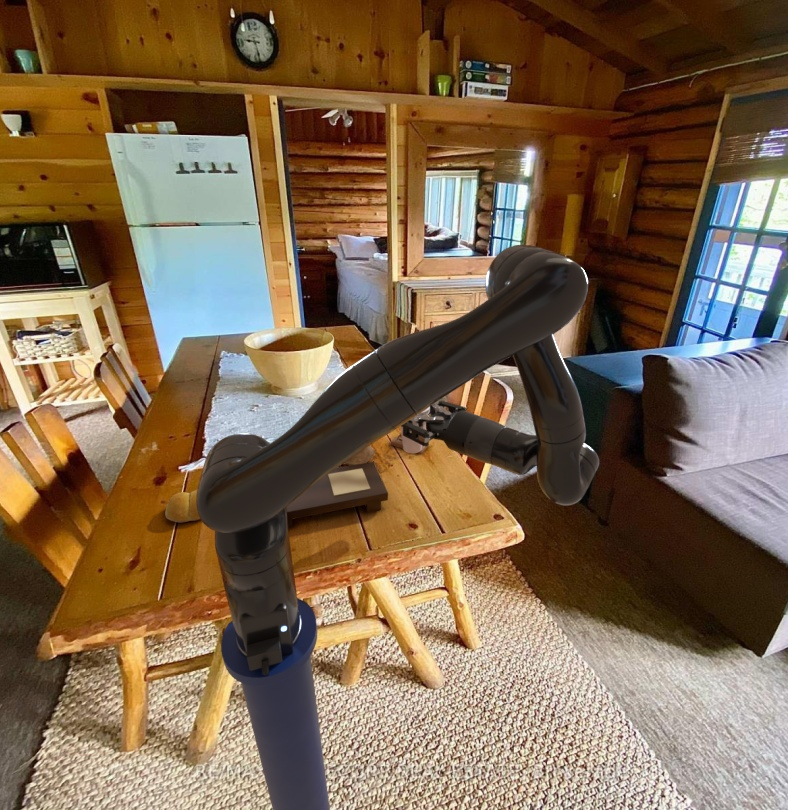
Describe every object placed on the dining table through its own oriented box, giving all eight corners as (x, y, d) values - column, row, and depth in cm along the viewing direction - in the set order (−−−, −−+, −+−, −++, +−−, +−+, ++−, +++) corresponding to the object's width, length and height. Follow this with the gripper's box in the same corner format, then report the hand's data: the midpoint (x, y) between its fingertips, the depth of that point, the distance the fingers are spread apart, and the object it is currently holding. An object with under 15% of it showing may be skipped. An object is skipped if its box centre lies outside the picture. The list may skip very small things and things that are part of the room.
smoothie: (396, 457, 86) (397, 392, 80) (396, 440, 92) (397, 378, 86) (429, 457, 86) (432, 392, 80) (427, 440, 92) (430, 378, 86)
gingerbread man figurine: (390, 444, 115) (390, 403, 110) (397, 438, 118) (398, 398, 113) (420, 454, 112) (422, 412, 106) (427, 446, 115) (429, 406, 109)
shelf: (388, 507, 93) (388, 492, 91) (269, 531, 86) (266, 515, 84) (373, 475, 103) (373, 460, 101) (266, 494, 96) (264, 478, 94)
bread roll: (214, 519, 89) (211, 503, 87) (165, 528, 86) (160, 512, 84) (216, 494, 95) (213, 479, 94) (171, 501, 93) (166, 486, 91)
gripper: (498, 404, 81) (425, 381, 90) (457, 435, 71) (379, 405, 80) (494, 439, 85) (424, 413, 94) (454, 473, 74) (380, 440, 83)
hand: (404, 410), depth 87 cm, fingers closed on smoothie, 6 cm apart
